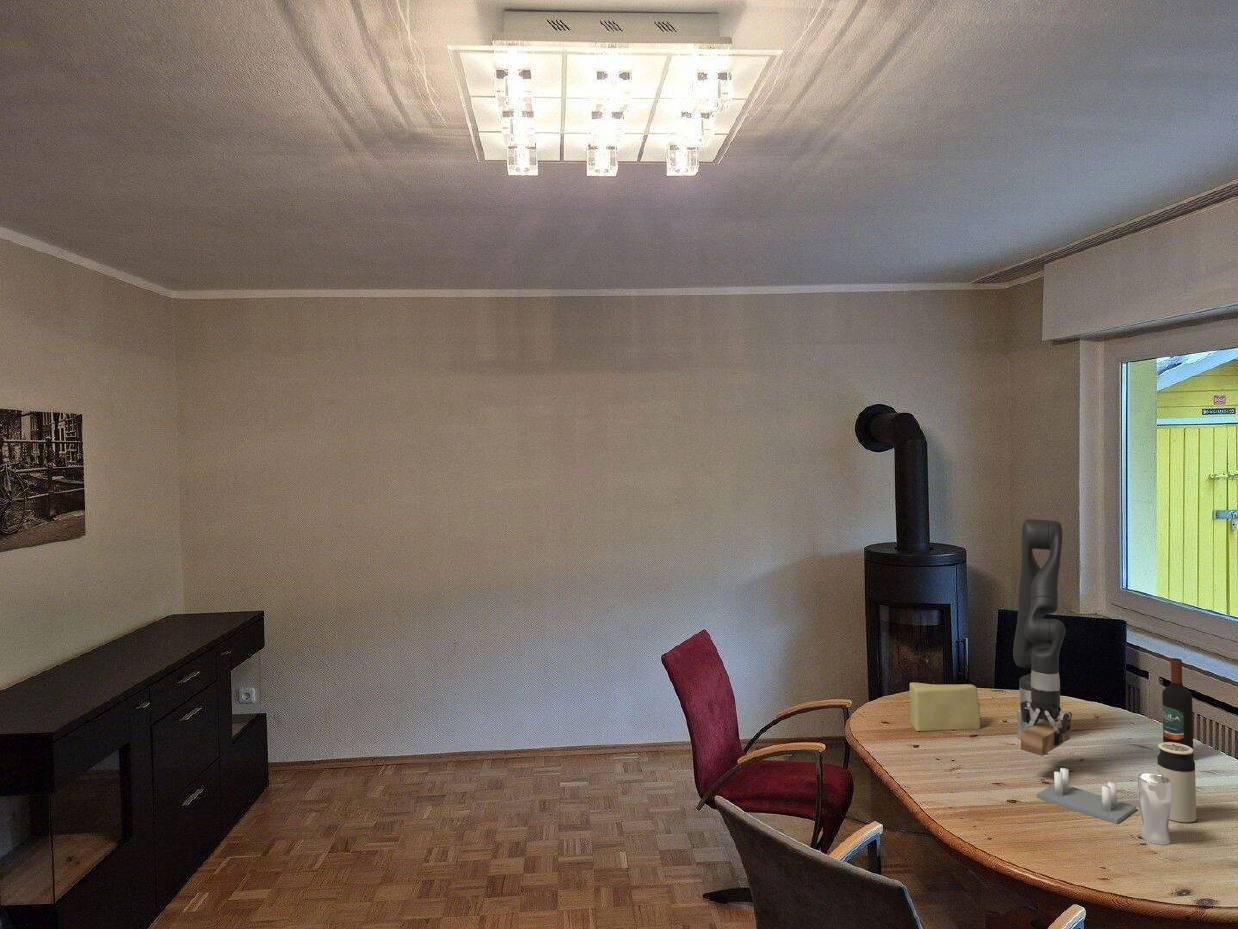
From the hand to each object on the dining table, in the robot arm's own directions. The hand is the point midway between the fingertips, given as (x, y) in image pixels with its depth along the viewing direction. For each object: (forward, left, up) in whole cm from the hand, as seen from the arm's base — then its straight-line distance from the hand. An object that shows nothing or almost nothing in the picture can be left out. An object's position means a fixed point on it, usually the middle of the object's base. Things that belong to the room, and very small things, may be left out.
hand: (1046, 741), depth 230 cm
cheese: (-40, +13, -10) cm, 43 cm away
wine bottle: (+20, +42, -10) cm, 47 cm away
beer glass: (+35, -19, -10) cm, 41 cm away
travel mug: (+34, -2, -10) cm, 35 cm away
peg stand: (+16, -12, -9) cm, 22 cm away
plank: (0, 0, -1) cm, 1 cm away
